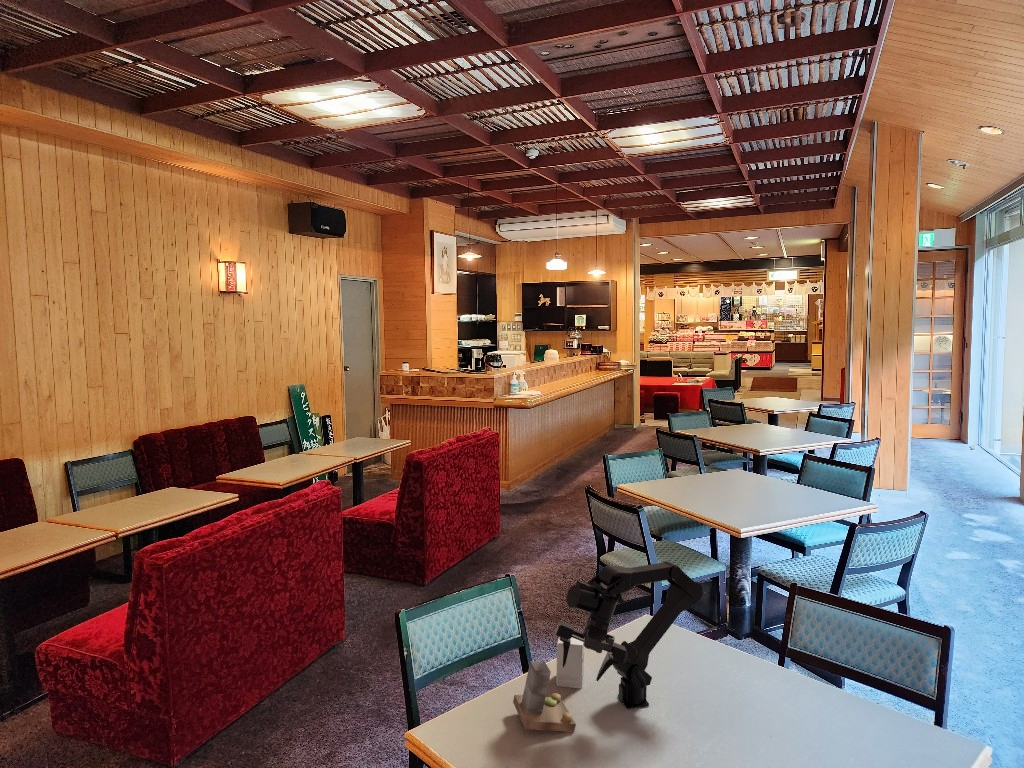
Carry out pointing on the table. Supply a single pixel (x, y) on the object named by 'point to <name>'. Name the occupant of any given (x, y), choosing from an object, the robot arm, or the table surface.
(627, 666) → the robot arm
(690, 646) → the table surface
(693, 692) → the table surface
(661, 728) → the table surface
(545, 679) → the wooden base with pillar
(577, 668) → the supplement box
